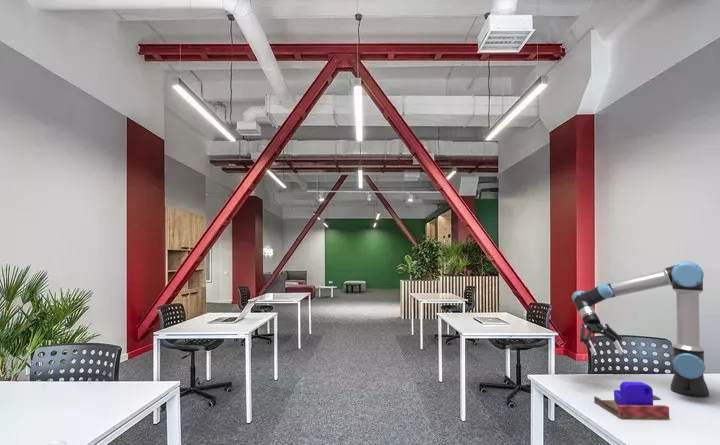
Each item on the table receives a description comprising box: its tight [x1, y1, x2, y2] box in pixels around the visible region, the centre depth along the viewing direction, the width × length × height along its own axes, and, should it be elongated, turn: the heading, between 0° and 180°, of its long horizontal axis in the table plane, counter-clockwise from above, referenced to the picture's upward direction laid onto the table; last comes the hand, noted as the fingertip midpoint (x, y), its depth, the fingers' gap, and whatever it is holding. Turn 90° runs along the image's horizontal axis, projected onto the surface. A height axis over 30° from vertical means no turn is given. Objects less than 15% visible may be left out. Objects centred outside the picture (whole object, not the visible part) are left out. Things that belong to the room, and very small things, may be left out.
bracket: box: [613, 381, 654, 405], centre depth 188 cm, size 18×11×12 cm, turn 177°
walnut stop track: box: [593, 396, 670, 421], centre depth 186 cm, size 20×20×5 cm
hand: (608, 353), depth 208 cm, fingers open, 13 cm apart
